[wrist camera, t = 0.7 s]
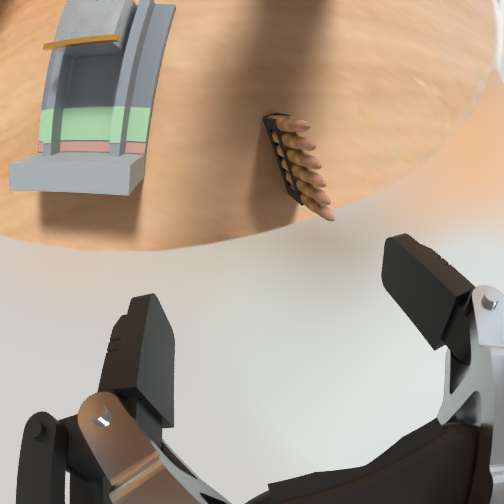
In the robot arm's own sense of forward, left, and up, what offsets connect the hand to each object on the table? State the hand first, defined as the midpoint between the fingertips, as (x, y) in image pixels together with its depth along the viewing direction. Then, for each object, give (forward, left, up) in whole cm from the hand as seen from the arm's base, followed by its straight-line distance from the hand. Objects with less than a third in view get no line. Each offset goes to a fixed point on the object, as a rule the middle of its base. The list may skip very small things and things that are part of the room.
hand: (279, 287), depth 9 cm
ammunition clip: (-2, +7, -26) cm, 27 cm away
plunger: (-15, -17, -25) cm, 33 cm away
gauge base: (-8, -17, -26) cm, 32 cm away
